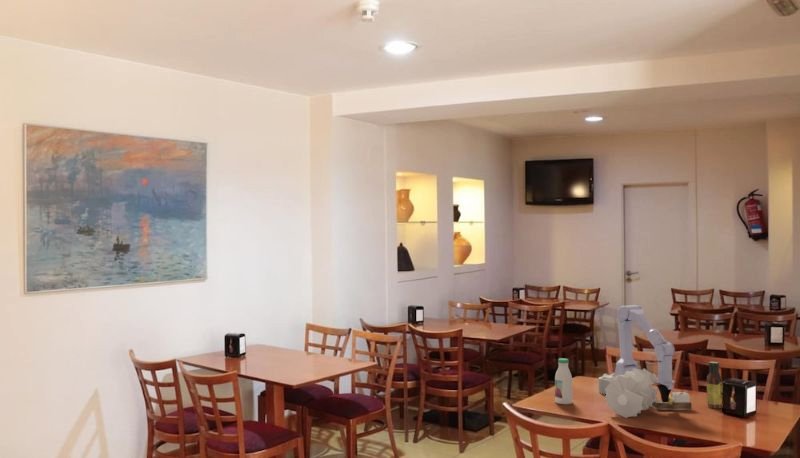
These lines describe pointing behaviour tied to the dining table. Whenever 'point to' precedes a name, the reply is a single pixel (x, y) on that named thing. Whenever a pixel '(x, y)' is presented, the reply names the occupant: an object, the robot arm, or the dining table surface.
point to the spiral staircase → (631, 392)
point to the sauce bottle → (714, 386)
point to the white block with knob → (681, 397)
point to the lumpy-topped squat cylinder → (605, 382)
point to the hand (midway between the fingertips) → (664, 402)
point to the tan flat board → (671, 406)
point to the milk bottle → (563, 383)
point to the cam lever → (670, 400)
